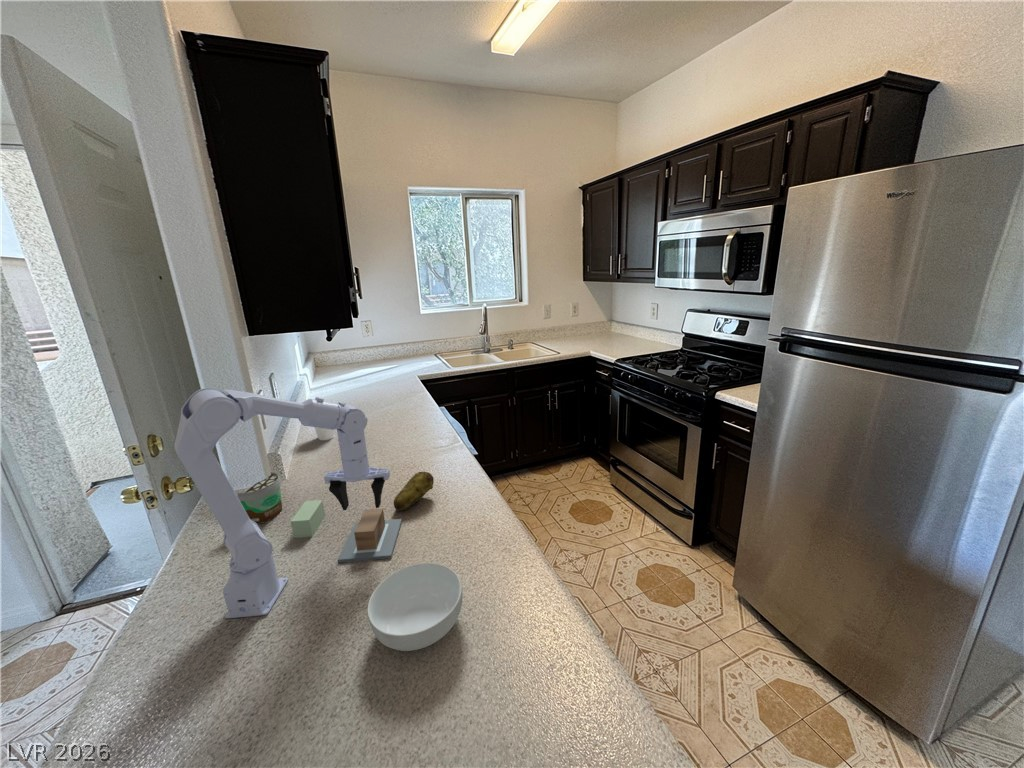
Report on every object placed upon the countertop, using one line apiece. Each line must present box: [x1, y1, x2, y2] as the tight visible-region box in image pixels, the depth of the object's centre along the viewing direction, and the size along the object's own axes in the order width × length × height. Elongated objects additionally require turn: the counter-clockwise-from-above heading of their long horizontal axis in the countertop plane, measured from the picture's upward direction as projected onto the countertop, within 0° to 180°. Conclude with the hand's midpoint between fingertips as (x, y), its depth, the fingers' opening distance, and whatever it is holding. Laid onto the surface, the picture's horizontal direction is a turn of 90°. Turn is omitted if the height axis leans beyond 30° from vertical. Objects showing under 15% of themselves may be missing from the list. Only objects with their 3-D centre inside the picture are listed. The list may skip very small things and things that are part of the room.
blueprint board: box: [337, 518, 403, 563], centre depth 98 cm, size 14×12×1 cm
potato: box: [393, 471, 435, 512], centre depth 113 cm, size 8×13×8 cm, turn 125°
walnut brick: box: [354, 508, 386, 551], centre depth 97 cm, size 9×4×5 cm, turn 4°
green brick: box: [289, 499, 326, 539], centre depth 104 cm, size 9×4×5 cm, turn 5°
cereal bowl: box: [366, 562, 463, 652], centre depth 73 cm, size 17×17×7 cm
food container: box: [236, 471, 283, 525], centre depth 109 cm, size 12×6×10 cm, turn 168°
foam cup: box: [314, 427, 336, 441], centre depth 160 cm, size 10×9×13 cm
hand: (362, 506), depth 96 cm, fingers open, 7 cm apart
